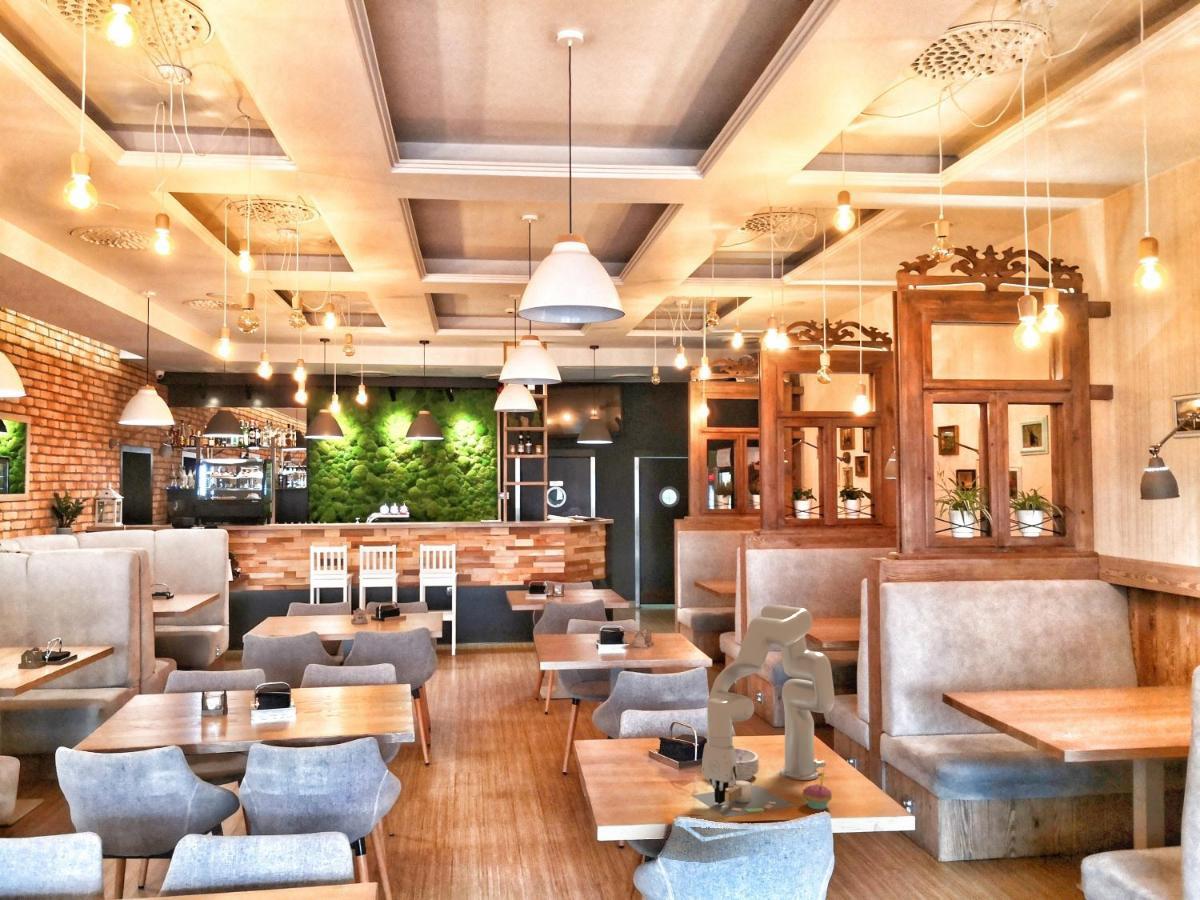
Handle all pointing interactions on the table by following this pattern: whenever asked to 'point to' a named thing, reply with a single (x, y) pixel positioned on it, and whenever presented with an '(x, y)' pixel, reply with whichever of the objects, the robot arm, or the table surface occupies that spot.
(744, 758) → the light grey bowl
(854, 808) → the table surface
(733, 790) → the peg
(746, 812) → the board
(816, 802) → the cupcake
